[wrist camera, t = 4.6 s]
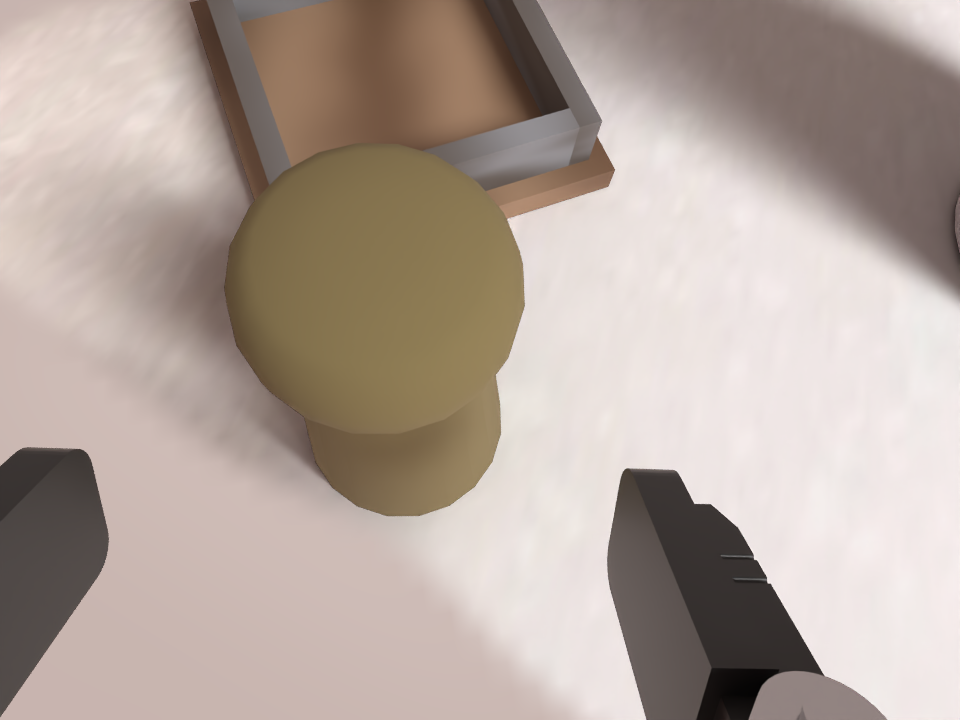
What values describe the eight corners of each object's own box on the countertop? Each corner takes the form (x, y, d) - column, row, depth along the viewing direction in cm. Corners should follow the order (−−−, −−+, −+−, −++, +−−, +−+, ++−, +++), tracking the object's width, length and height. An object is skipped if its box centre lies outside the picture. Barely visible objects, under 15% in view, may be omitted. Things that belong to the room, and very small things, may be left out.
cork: (300, 343, 21) (163, 101, 11) (483, 318, 22) (523, 68, 11) (316, 533, 19) (169, 463, 9) (517, 499, 20) (604, 396, 9)
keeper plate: (486, -44, 27) (491, -118, 24) (607, 186, 24) (631, 131, 21) (199, 24, 25) (168, -48, 22) (285, 288, 22) (262, 242, 19)
